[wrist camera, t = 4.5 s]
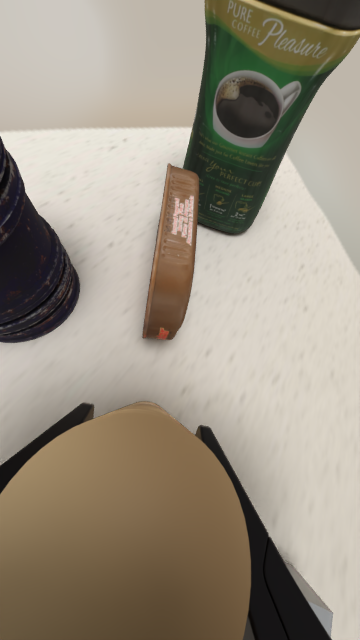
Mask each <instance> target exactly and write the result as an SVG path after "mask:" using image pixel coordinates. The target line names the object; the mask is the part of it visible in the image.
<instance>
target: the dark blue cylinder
mask: <svg viewBox="0 0 360 640" xmlns="http://www.w3.org/2000/svg"><path fill="white" fill-rule="evenodd" d="M79 292H80V283H79V278H78V275H77V273H76V270H75V269H74V267H73V266H72V264H71V262H70V259H69V256H68V254H67V252H66V250H65V249H64V247H63V245H62V244H61V242H60V240H59V237H58V236H57V234H56V233H55V231H54V230H53V229H52V228H51V226H50V225H49V224H48V223H47V222H46V221H45V219H44V218H43V217H41V216H40V215H39V214H38V212H37V211H36V209H35V208H34V206H33V204H32V203H31V201H30V199H29V198H28V196H27V194H26V193H25V187H24V182H23V180H22V177H21V175H20V172H19V169H18V167H17V164H16V162H15V161H14V159H13V158H12V156H11V155H10V153H9V152H8V151H7V150H6V149H5V147H4V144H3V142H2V139H1V137H0V342H4V343H17V342H25V341H29V340H33V339H36V338H39V337H41V336H44V335H46V334H47V333H49V332H51V331H53V330H54V329H56V328H57V327H58V326H60V325H61V324H62V323H63V322H64V321H65V320H66V319H67V318H68V316H69V315H70V314H71V313H72V311H73V309H74V307H75V306H76V303H77V301H78V298H79Z"/></svg>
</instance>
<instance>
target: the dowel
mask: <svg viewBox="0 0 360 640" xmlns="http://www.w3.org/2000/svg"><path fill="white" fill-rule="evenodd" d="M250 588H251V558H250V547H249V538H248V533H247V527H246V522H245V518H244V514H243V511H242V508H241V504H240V501H239V498H238V496H237V493H236V491H235V489H234V486H233V484H232V482H231V480H230V478H229V476H228V474H227V473H226V471H225V469H224V467H223V466H222V464H221V463H220V462H219V460H218V459H217V458H216V456H215V455H214V453H213V452H212V451H211V450H210V449H209V448H208V447H207V446H206V445H205V444H204V443H203V442H202V441H201V440H200V439H199V438H197V437H196V436H195V435H194V434H193V433H191V432H190V431H189V430H188V429H187V428H185V427H184V426H183V425H182V424H180V423H179V422H178V421H177V420H176V419H174V418H173V417H172V416H171V415H170V414H168V413H167V412H166V411H165V410H163V409H162V408H161V407H160V406H158V405H157V404H155V403H152V402H147V401H142V402H136V403H133V404H131V405H128V406H126V407H123V408H120V409H118V410H115V411H112V412H110V413H107V414H105V415H102V416H99V417H97V418H94V419H92V420H89V421H87V422H84V423H82V424H80V425H77V426H75V427H73V428H71V429H70V430H68V431H66V432H64V433H63V434H61V435H59V436H58V437H56V438H55V439H54V440H52V441H51V442H49V443H48V444H47V445H45V446H44V447H43V448H41V449H40V450H39V451H38V452H37V453H36V454H35V455H34V456H33V457H32V458H31V459H30V460H28V461H27V462H26V463H25V464H24V466H23V467H22V468H21V469H20V470H19V471H18V472H17V473H16V475H15V476H14V477H13V478H12V479H11V480H10V482H9V483H8V485H7V486H6V487H5V489H4V490H3V491H2V493H1V494H0V640H243V636H244V632H245V626H246V621H247V615H248V610H249V600H250Z"/></svg>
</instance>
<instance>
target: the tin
mask: <svg viewBox="0 0 360 640" xmlns="http://www.w3.org/2000/svg"><path fill="white" fill-rule="evenodd" d="M198 202H199V177H198V175H197V174H196V173H194V172H192V171H189V170H185V169H181V168H178V167H174V166H172V165H171V164H168V166H167V174H166V181H165V187H164V193H163V201H162V207H161V214H160V219H159V225H158V231H157V238H156V246H155V252H154V259H153V265H152V272H151V279H150V285H149V292H148V298H147V306H146V313H145V320H144V327H143V338H146V337H147V338H156V339H163V340H171V339H173V338H174V336H175V335H176V333H177V331H178V330H179V328H180V327H181V325H182V323H183V321H184V318H185V314H186V310H187V306H188V302H189V298H190V293H191V287H192V280H193V273H194V263H195V250H196V235H197V219H198Z"/></svg>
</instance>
